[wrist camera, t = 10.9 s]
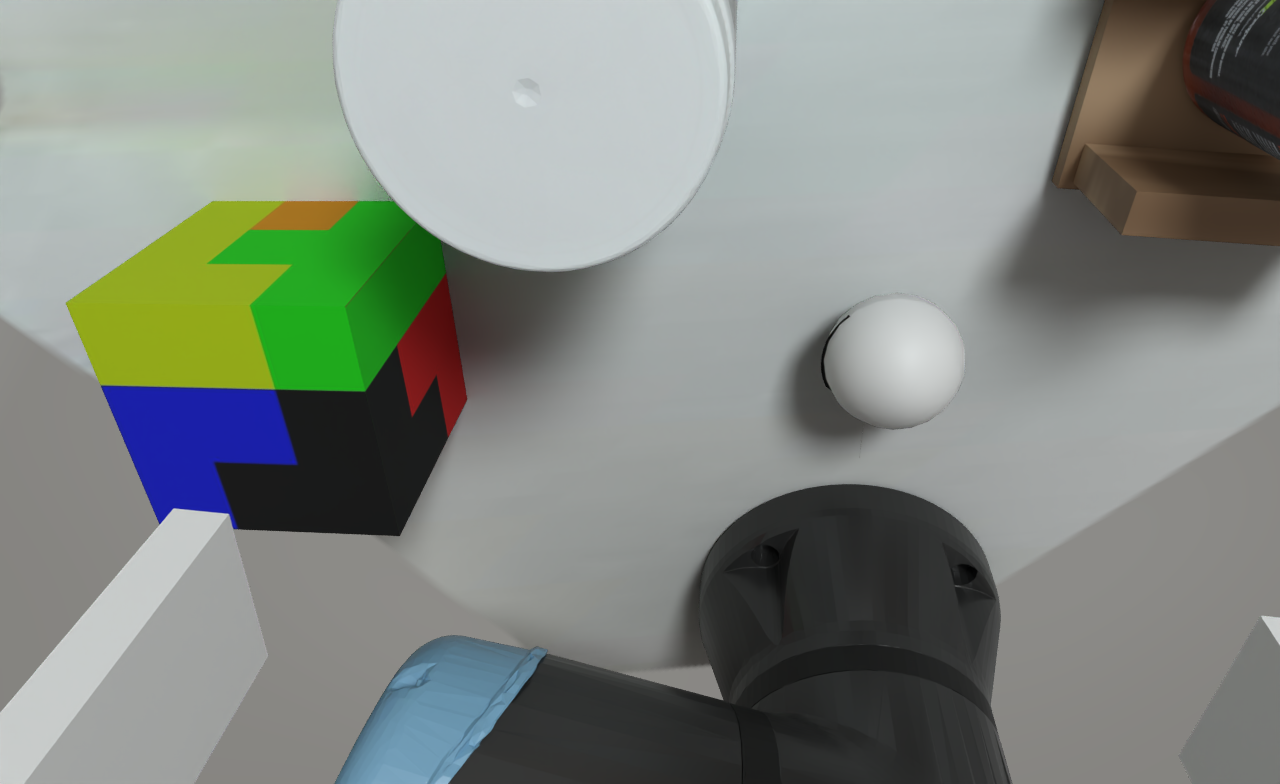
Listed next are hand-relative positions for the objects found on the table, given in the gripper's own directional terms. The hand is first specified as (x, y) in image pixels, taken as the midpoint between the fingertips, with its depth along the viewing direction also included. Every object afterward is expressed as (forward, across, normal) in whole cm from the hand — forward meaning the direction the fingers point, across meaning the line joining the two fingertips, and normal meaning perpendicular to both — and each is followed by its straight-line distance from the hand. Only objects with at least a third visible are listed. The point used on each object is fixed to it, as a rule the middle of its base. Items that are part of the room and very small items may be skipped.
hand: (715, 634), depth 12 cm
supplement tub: (+27, +5, -4) cm, 28 cm away
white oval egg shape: (+27, -7, +10) cm, 30 cm away
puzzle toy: (+27, +17, +10) cm, 33 cm away
